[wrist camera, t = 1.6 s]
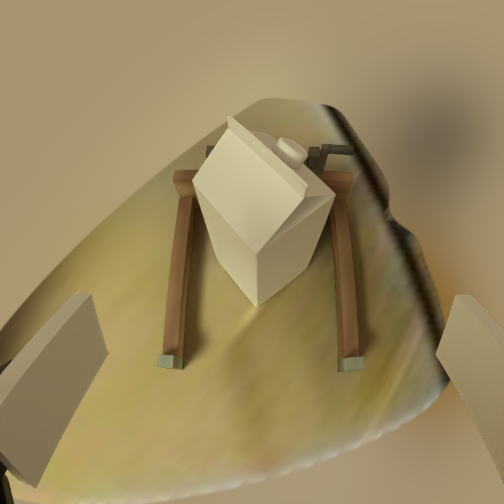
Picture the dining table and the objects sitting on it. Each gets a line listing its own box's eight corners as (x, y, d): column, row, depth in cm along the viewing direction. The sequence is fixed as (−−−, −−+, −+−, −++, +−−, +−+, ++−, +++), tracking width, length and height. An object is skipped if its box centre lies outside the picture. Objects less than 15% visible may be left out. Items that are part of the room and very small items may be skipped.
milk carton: (256, 309, 33) (254, 223, 16) (216, 259, 35) (179, 143, 18) (307, 268, 35) (350, 156, 17) (266, 223, 37) (271, 93, 20)
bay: (168, 368, 31) (129, 361, 21) (186, 194, 39) (165, 135, 29) (352, 370, 30) (392, 364, 20) (338, 195, 38) (360, 137, 28)
